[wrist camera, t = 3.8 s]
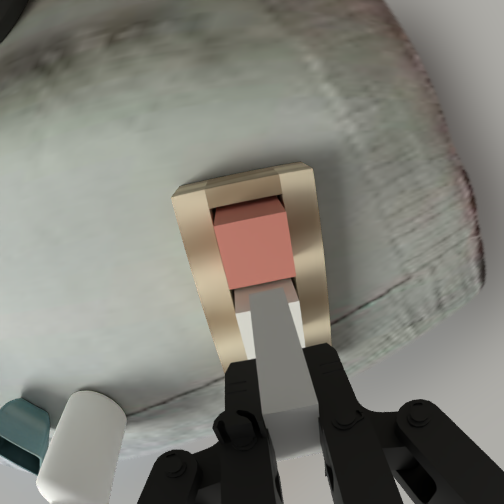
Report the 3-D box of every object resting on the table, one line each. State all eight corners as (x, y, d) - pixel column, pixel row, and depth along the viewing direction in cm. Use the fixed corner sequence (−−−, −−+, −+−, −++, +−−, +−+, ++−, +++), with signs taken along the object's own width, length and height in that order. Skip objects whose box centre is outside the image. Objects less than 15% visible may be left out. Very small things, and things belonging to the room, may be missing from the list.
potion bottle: (75, 417, 36) (40, 521, 19) (66, 379, 33) (16, 495, 16) (129, 432, 37) (107, 543, 21) (127, 395, 34) (95, 525, 18)
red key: (216, 205, 24) (213, 226, 20) (275, 194, 24) (286, 211, 20) (229, 259, 26) (229, 289, 21) (284, 248, 26) (296, 276, 21)
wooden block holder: (179, 186, 26) (171, 197, 22) (300, 161, 25) (312, 168, 22) (234, 376, 34) (235, 403, 30) (324, 358, 34) (333, 383, 30)
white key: (234, 280, 27) (235, 313, 22) (287, 269, 27) (299, 300, 22) (244, 323, 29) (248, 360, 24) (294, 313, 29) (305, 349, 24)
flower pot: (61, 411, 36) (42, 458, 27) (57, 437, 38) (42, 479, 30) (10, 383, 34) (-15, 425, 25) (12, 412, 36) (-8, 451, 28)
